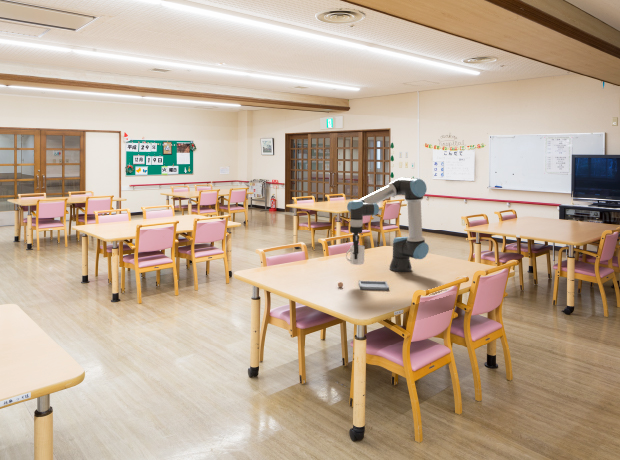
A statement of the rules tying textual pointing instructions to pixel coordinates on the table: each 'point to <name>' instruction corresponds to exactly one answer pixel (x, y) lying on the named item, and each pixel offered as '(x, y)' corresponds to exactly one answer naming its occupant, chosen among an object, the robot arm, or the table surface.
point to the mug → (360, 254)
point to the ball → (340, 284)
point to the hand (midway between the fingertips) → (355, 262)
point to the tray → (373, 285)
